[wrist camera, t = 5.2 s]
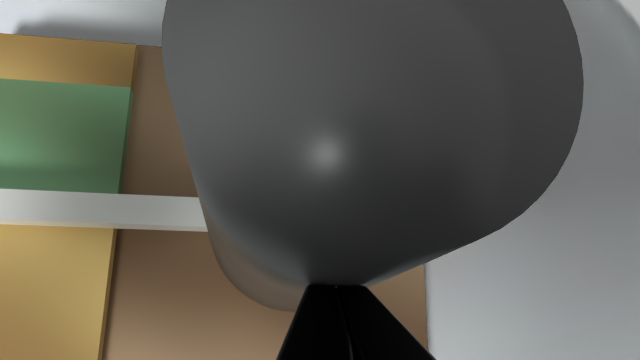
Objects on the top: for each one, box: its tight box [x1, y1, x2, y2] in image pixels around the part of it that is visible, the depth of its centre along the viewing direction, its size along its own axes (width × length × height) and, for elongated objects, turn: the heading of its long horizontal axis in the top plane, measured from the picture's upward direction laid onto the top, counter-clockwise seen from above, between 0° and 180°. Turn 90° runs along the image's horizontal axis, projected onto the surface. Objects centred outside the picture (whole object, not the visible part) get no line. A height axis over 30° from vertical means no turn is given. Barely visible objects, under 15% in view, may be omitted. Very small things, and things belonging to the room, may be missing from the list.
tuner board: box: [0, 33, 428, 360], centre depth 14 cm, size 14×12×1 cm
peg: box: [0, 0, 584, 312], centre depth 10 cm, size 9×10×9 cm
